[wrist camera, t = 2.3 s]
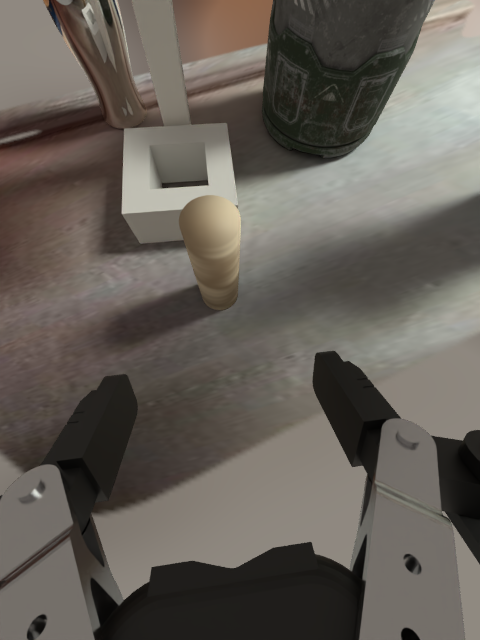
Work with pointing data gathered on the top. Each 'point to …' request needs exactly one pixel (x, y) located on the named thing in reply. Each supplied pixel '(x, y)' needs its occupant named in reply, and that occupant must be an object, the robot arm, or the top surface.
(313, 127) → the canister
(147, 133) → the kiosk
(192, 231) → the peg
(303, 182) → the top surface
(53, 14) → the beer glass
